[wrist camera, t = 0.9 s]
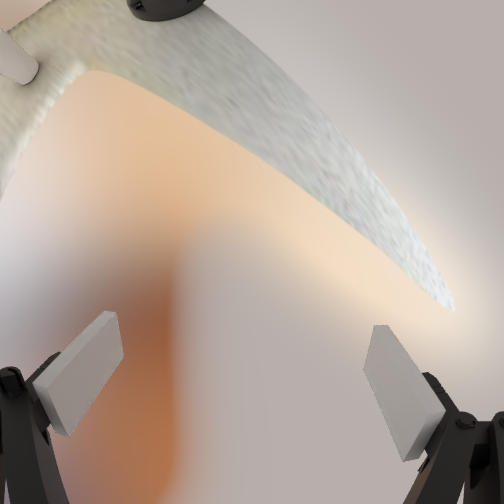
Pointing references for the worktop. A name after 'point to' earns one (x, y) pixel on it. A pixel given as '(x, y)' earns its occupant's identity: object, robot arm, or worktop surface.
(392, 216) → the worktop surface
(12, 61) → the drinking glass
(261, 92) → the worktop surface
